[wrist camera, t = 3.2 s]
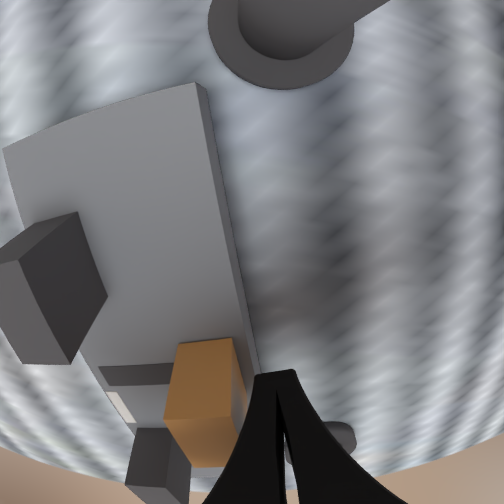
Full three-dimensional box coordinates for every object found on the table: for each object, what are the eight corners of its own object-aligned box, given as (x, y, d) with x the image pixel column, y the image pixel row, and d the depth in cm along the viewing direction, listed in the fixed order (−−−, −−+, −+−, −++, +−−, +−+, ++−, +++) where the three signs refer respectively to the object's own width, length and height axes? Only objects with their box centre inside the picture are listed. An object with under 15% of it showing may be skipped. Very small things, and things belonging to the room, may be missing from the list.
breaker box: (205, 88, 11) (168, 66, 5) (274, 434, 19) (283, 520, 13) (45, 137, 11) (-68, 174, 5) (173, 442, 19) (163, 522, 13)
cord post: (356, 415, 19) (383, 504, 12) (351, 449, 21) (370, 525, 14) (281, 429, 19) (292, 524, 12) (286, 461, 21) (296, 540, 15)
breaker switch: (231, 337, 11) (230, 416, 8) (246, 393, 13) (249, 465, 9) (177, 343, 11) (162, 420, 8) (200, 398, 13) (194, 467, 10)
